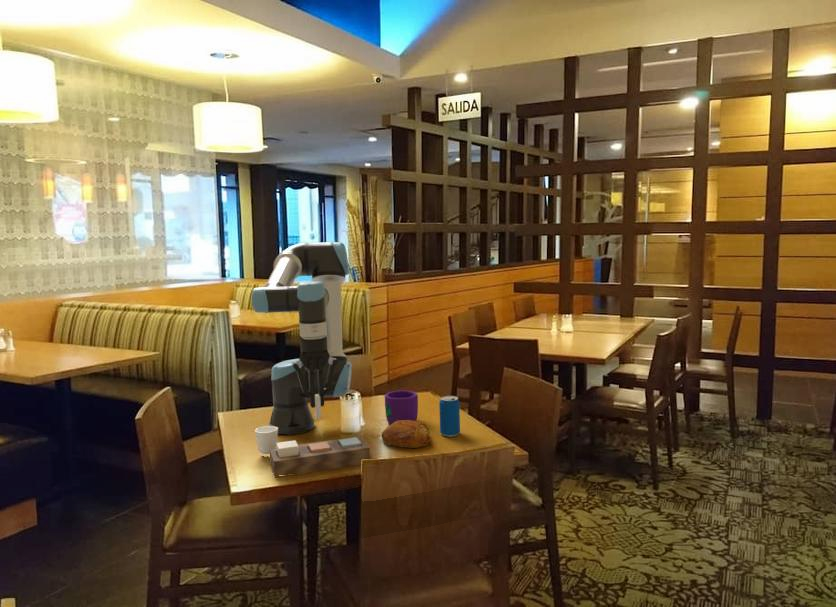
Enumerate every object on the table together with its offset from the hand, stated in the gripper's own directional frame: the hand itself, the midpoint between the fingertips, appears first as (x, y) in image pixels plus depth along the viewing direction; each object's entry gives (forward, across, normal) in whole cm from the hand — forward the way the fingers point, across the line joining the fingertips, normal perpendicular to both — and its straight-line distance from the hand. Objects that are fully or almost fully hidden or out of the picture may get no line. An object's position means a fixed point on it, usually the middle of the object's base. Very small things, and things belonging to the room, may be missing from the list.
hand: (317, 417), depth 182 cm
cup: (+14, -14, +14) cm, 24 cm away
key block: (+13, 0, -1) cm, 13 cm away
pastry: (+14, +29, +7) cm, 33 cm away
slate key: (+13, +9, -1) cm, 15 cm away
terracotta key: (+13, 0, -1) cm, 13 cm away
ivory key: (+11, -9, -1) cm, 14 cm away
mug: (+15, +33, +30) cm, 47 cm away
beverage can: (+14, +44, +8) cm, 46 cm away
